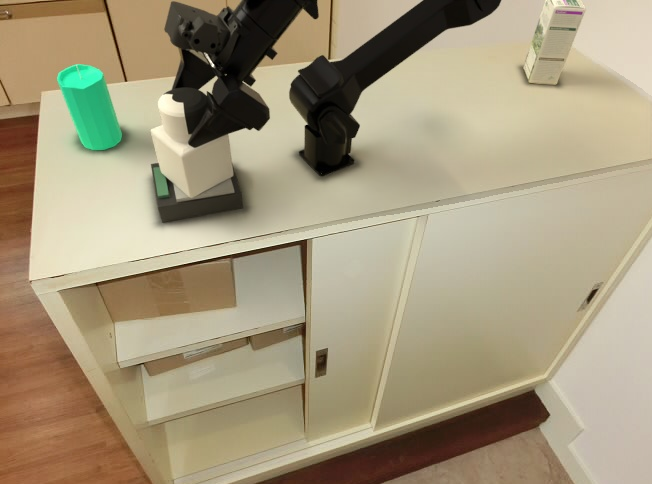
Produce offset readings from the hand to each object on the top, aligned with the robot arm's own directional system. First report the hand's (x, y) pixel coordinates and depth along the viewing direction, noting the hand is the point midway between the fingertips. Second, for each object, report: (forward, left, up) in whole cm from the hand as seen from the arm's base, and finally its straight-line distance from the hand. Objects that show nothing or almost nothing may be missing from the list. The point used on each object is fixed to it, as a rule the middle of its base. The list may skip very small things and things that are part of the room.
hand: (180, 124), depth 66 cm
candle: (-7, +19, -12) cm, 23 cm away
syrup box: (+70, -3, -12) cm, 72 cm away
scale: (0, 0, -12) cm, 12 cm away
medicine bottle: (+1, 0, -8) cm, 8 cm away
